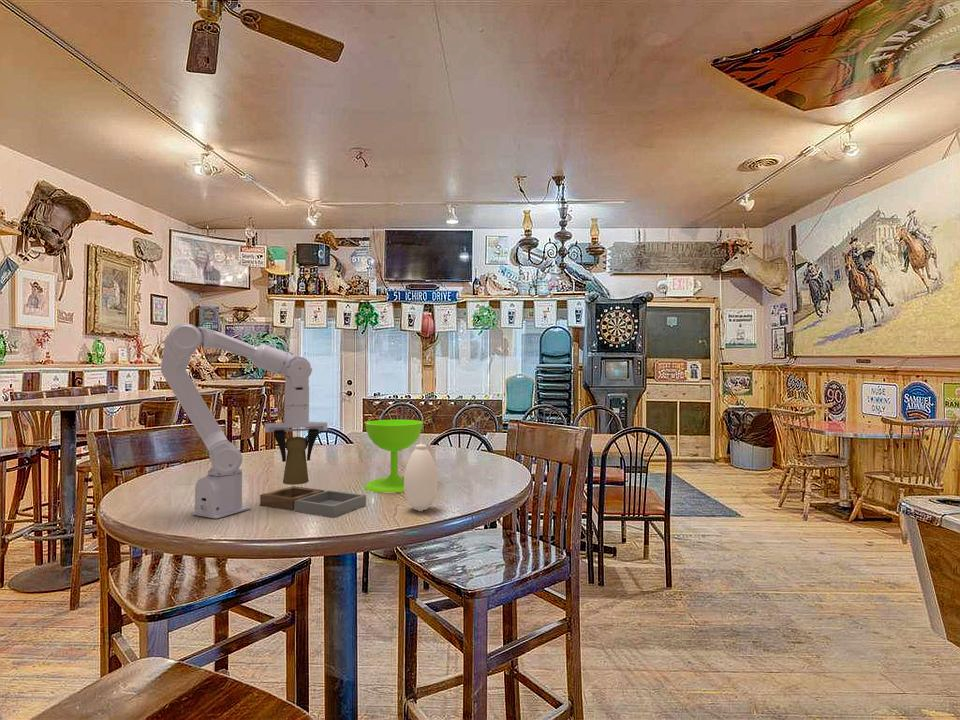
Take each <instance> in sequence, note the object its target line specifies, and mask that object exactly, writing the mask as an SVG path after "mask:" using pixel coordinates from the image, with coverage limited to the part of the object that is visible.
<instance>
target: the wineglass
mask: <svg viewBox="0 0 960 720" xmlns="http://www.w3.org/2000/svg"><path fill="white" fill-rule="evenodd" d="M423 423H424V422H423V421H422V420H415V419H379V420H370V421H366V422H365V423H364V424H365V431H366V434H367V435H368V438H369V439H370V440H371V442H372V443H373V444H374V445H376V446H377V447H378V448H380V449H381V450H385V451H387V452H390V474H389V475H388V477H382V478H376V479H372V480H370V481H369V482H367V483H366V484H365V486H364V489H365V490H366V491H368V490H369V492H371V491H373V492H372V493H377V492H404V477H403V476H402V477H401V476H400V474H399V473H398V464H399V463H398V461H399V460H398V457H399V456H398V452H400V451H403V450H405V449H407V448H410V447H411V446H412V445H413V444H414V443H416V441H417V440H418V439H419V437H420V436H421V434H422V433H421V432H422V431H423V430H422V429H423V425H424V424H423ZM404 493H405V492H404Z"/></svg>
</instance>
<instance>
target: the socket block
mask: <svg viewBox="0 0 960 720" xmlns="http://www.w3.org/2000/svg"><path fill="white" fill-rule="evenodd" d="M324 491H325V490H324V489H317V488H310V487H303V486H294V485H291V486H287V487H284V488H281V489H277V490H272V491H270V492H266V493H261V494H260V495H259V505H260V506H262V505H263V507H269V508H270V507H271V508H275V507H276V508H277V509H282V510H283V509H284V510H288V511H294V500H298V499H301V498H304V497H308V496H311V495H314V494H318V493H321V492H324Z"/></svg>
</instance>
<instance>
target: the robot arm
mask: <svg viewBox="0 0 960 720" xmlns="http://www.w3.org/2000/svg"><path fill="white" fill-rule="evenodd" d="M200 346H201V349H202V350H205V349H207V350H208V349H218V350H222V351H226V352H229V353H232V354H234V355H238V356H242V357H244V358H247V359H250V360H251V362H252V364H253V365H254V367H256V368H260V369H262V370H266V371H268V372H270V373H274V374H277V375H279V376H282V375H283V376H284V377H285V379H284V380H285V382H284V383H285V386H284V417H283V419H284V422H274V423H273V422H272V423H265V424H264V433H273V437H274V439H275V442H276V443H277V445H278V448H279V450H280V455H281V461H282V463H286V458H287V452H286V451H287V449H286V447H285V443H286V432H304V431H305V432H307V442H308V445H307V453H306V455H307V456H306V462H307V461H309V462H310V461H311V455H312V451H313V447H314V445H315V442H316V440H317V437H318V435H319V431H328V422H327V421H310V386H309V382H310V380H309V378H310V376H311V375H312V372H313V368H312V366H311V363H310V361H308V359H307V358H306V357H302V356H295V354H294V353H295V352H292V351H289V352H287V351H284V350H283V349H279V348H276V347H275V344H272V343H268V344H266V343H262V344H260V345H258V346H256V345H252V344H250V343H247V342H244V341H242V340H239V339H237V338H235V337H232V336H230V335H227V334H224V333H222V332H220V331H217V330H214V329H210V328H207V327H201V326H198V327H197V326H195V325H194V324H190V323H179V324H177V325H175V326H174V327H173V328H171V330H170V331H169V333H168V335H167V337H166V339H165V340H164V344H163V352H162V359H161V365H160V372H161V375H162V376H163V377H164V379H165V381H166V383H167V385H168V386H169V387H170V389H171V391H172V392H173V394H174V395H175V398H176V399H177V400H178V402H179V404H180V405H181V407H182V409H183V410H184V412H185V413H186V414H185V415H187V417H188V418H189V420H190V422H191V424H192V425H193V427H194V428H195V430H196V432H197V433H198V435H199V437H200V438H201V440H202V442H203V443H204V446H205V447H206V449H207V451H208V452H209V453H208V454H209V455H208V458H209V461H210V463H211V467H210V469H209V470H208V471H207V475H206V476H204V477H201V478H199V479H198V480H197V481H196V484H195V488H194V511H192V515H193V516H200V517H204V518H210V519H221V518H223V517H227V516H230V515H234V514H238V513H241V512H243V511H244V512H245V511H247V510H250V509H251V506H248V505H243V469H242V468H240V467H241V465H242V464H243V454H242V453H241V451H240V450H239V449H238V448H237V446H236V445H235V444H234V443H232V442H230V441H229V440H228V438H227V436H226V435H225V434H224V431H223V430H222V428H221V427H220V425H219V424H218V422H217V420H216V419H215V417H214V415H213V413H212V411H211V410H210V408H209V406H208V405H207V403H206V402H205V400H204V399H203V397H202V395H201V394H200V391H199V390H198V388H197V387H196V385H195V383H194V381H193V379H192V378H191V376H190V374H189V373H188V371H187V368H188V366H189V364H190V363H189V362H190V361H191V356H193V354H194V353H195V352H197V350H198V348H199V347H200Z"/></svg>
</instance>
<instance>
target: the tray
mask: <svg viewBox="0 0 960 720" xmlns="http://www.w3.org/2000/svg"><path fill="white" fill-rule="evenodd" d="M365 505H366V506H367V495H365V494H362V493H352V492H345V491H338V490H337V491H336V490H330V489H329V490H324V492H321V493H318V494H314V495H311V496H308V497H304V498H301V499H298V500H294V510H293V511H294V512H297V513H304V514H307V515H314V514H316V515H317V516H320V515H322V517H327V516H328V517H329V518H333V517H334V518H335V517H339V516H341V514H342V515H344V514H347V513H350V512H353V511H355V510H358V509H361V508H363V507H366V506H365ZM360 507H361V508H360ZM357 508H358V509H357ZM354 509H355V510H354ZM349 511H350V512H349ZM316 515H315V516H316ZM328 517H327V518H328Z"/></svg>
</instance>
